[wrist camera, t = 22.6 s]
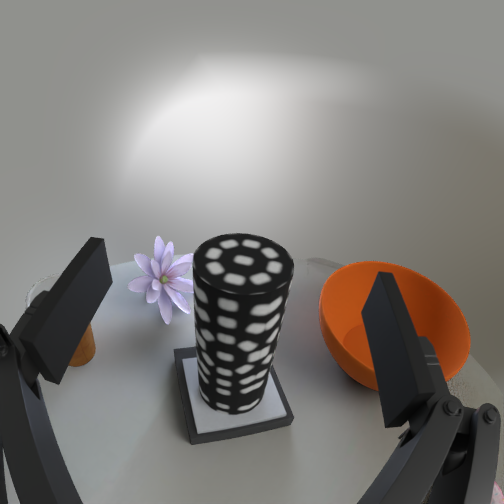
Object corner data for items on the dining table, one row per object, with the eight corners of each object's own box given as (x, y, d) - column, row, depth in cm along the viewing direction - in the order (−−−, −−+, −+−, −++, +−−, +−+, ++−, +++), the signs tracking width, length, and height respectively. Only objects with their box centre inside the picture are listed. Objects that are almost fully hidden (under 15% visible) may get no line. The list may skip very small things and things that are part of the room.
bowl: (449, 338, 50) (474, 300, 44) (420, 445, 33) (459, 412, 27) (342, 285, 61) (355, 243, 55) (274, 369, 44) (286, 324, 38)
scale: (174, 358, 43) (172, 345, 42) (259, 346, 47) (261, 333, 45) (191, 445, 33) (189, 436, 31) (290, 424, 36) (295, 414, 34)
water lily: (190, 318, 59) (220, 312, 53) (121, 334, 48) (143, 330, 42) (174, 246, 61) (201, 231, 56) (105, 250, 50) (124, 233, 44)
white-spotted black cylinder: (189, 403, 34) (175, 278, 23) (211, 354, 41) (213, 226, 30) (256, 422, 33) (285, 306, 22) (270, 369, 40) (299, 244, 29)
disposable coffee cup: (49, 335, 42) (24, 279, 36) (100, 322, 47) (82, 265, 40) (54, 381, 36) (21, 327, 29) (111, 367, 40) (89, 310, 33)
